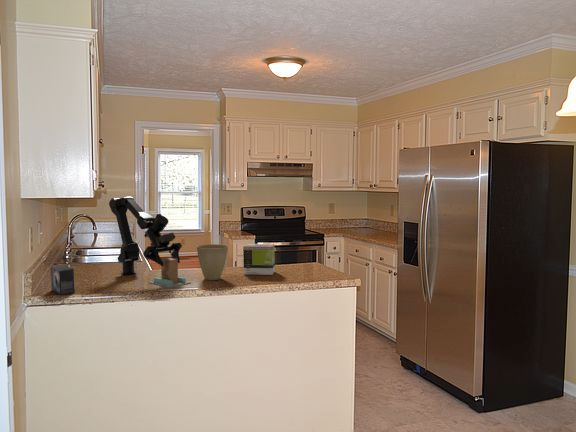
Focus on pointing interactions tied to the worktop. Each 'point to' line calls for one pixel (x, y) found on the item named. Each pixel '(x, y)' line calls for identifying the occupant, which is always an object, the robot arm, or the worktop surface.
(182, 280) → the rack
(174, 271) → the brown upright block
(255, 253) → the tea box
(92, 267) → the worktop surface
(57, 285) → the small box
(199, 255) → the plant pot
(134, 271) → the robot arm
